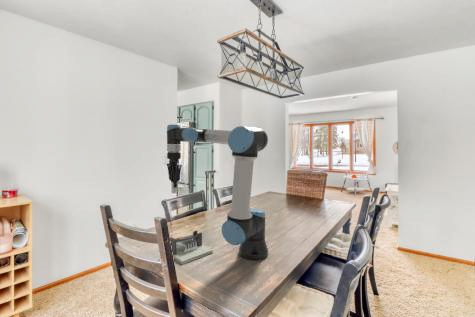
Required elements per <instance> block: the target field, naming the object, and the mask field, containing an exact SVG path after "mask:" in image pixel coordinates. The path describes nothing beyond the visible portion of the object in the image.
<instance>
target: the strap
mask: <svg viewBox="0 0 475 317" xmlns="http://www.w3.org/2000/svg"><path fill="white" fill-rule="evenodd" d="M194 238H198V233H197V234H195V235H193V234H192V235H188V236H179V237H177V238H175V239H176V240H177V241H176V242H181V241H185V240H190V239H194Z"/></svg>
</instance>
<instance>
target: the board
mask: <svg viewBox="0 0 475 317" xmlns="http://www.w3.org/2000/svg"><path fill="white" fill-rule="evenodd" d="M192 240H193V239H192ZM176 245H177V242H176ZM213 253H214V250H213V249H212V248H210V247H208V246H206V245H204V244H202V245H201V246H199V247H198V249H196V250H193V251H190V252H187V253H183V252H181V251H180V250H178V249H176V255H174V254H173V257H174V258H173V259H174V260H176V262H178V263H180V265H185V264H186V263H187V264H188V263H190V262H192V261H195V260H197V259H199V258H200V259H201V258H202V257H205V256H208V255H210V254H211V255H212V254H213Z"/></svg>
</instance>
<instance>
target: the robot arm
mask: <svg viewBox="0 0 475 317" xmlns="http://www.w3.org/2000/svg"><path fill="white" fill-rule="evenodd" d="M268 141H269V138H268V135H267V133H266V131H265V130H264V129H262V128H260V127H255V126H249V125H240V126H236V127H234V128H233V129H232V130H223V129H207V128H206V129H205V128H194V127H191V126H190V127H188V126H187V127H182V126H181V125H180V124H168V125H167V126H166V151H167V153H166V155H167V156H166V158H167V159H168V160H169V161H168V163H167V164H166V166H167V171H168V173H167V174H168V179H169V181H170V182H171V194H177V193H178V182H180V179H181V170H182V164H180V159H181V157H182V156H181V155H182V154H181V151H182V150H181V149H182V142H191V143H193V142H194V143H197V142H198V143H208V144H209V143H210V144H211V143H212V144H220V145H221V144H222V145H228V147H229V149H230V150H231V156H232V158H234V166H233V167H234V168H233V179H232V192H231V194H232V195H231V206H230V207H231V208H230V210H229V211H228V212H227V218H226V221H225V222H223V224H222V226H221V234H222V236H223V238H224V239H225V241H226V242H227V243H228V244H229V245H232V246H239V248H238V255H239V256H240V257H241V258H243V259H246V260H251V261H258V260H259V261H260V260H263V259H265V258H267V257H268V255H269V248H268V245H267V241H266V218H267V217H266V213H265V210H262V209H259V208H250V207H251V199H252V198H251V197H252V187H253V174H254V171H253V170H254V162H255V160H256V159H257V158H258V156H259V155H258V153H259V152H261V151H262V150H264V149H265V148H266V147H267V145H268Z"/></svg>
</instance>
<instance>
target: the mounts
mask: <svg viewBox="0 0 475 317" xmlns="http://www.w3.org/2000/svg"><path fill="white" fill-rule="evenodd" d="M195 234H198V238H194V239H193V240H194V241H196V242H197V246H198V247H199V246H201V245H203V232H199V233H198V230H193V231H192V235H195ZM176 239H177V238H175V237H173V236H172V237H169V242H170V241H171V246H172V252H173V254H174V255H176V241H177V240H176Z"/></svg>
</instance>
